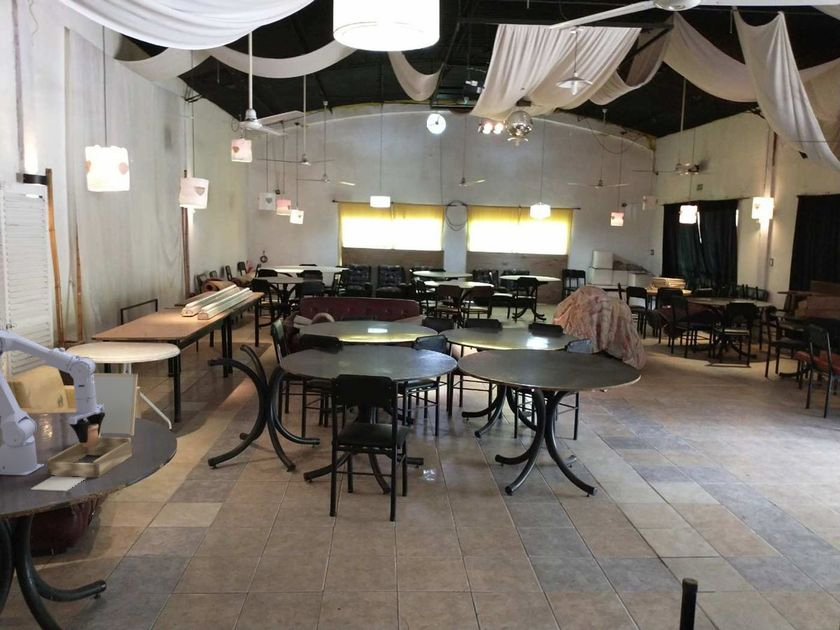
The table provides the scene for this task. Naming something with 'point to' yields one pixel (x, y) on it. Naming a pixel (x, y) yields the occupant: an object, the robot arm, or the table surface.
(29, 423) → the robot arm
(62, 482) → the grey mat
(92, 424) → the terracotta flower pot
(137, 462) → the table surface
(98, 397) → the lid
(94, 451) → the cold frame
